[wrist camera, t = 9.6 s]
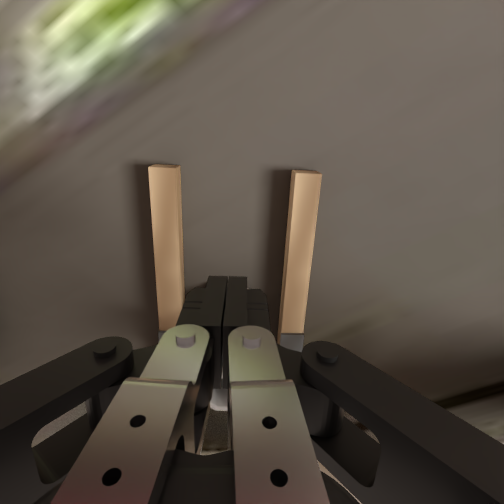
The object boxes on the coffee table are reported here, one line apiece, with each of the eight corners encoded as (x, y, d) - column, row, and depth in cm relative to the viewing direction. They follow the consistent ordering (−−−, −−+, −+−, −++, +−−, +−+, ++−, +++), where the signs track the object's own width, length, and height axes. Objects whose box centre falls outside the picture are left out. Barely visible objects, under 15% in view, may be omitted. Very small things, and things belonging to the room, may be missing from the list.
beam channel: (316, 170, 26) (323, 174, 24) (291, 390, 34) (295, 408, 32) (154, 164, 26) (146, 167, 23) (168, 389, 34) (163, 407, 32)
